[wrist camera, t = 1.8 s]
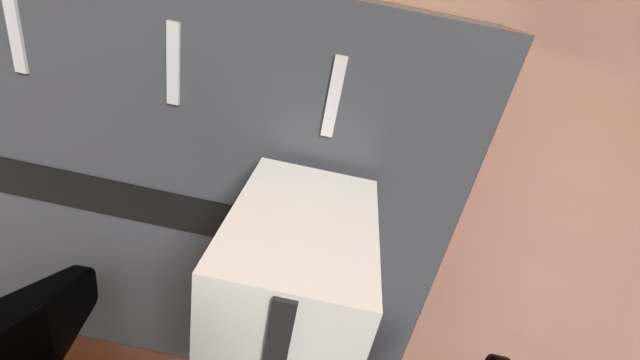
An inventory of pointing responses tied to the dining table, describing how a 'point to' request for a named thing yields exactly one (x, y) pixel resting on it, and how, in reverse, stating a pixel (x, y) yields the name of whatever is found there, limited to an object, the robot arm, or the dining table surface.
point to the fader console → (233, 138)
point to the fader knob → (291, 270)
